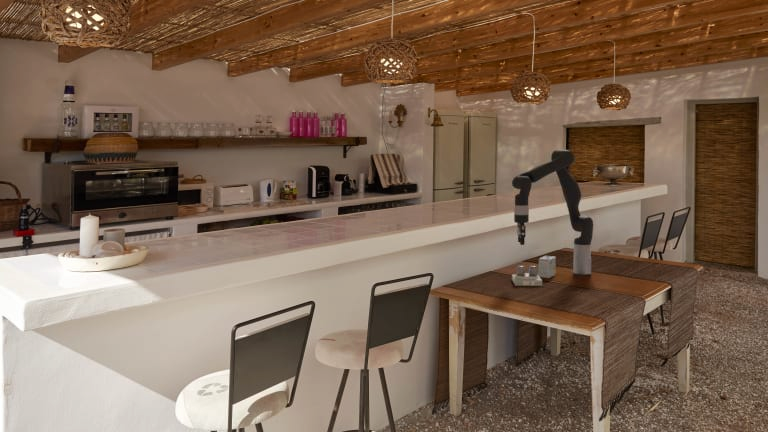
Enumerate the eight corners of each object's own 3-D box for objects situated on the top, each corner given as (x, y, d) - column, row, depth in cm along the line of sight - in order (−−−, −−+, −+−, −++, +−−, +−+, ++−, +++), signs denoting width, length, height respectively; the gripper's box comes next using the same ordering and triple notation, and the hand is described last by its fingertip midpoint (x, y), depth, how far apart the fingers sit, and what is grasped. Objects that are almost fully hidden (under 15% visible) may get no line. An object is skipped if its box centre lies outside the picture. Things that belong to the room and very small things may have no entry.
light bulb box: (544, 273, 342) (544, 255, 341) (555, 274, 339) (556, 256, 337) (538, 277, 334) (538, 258, 332) (549, 278, 330) (550, 259, 328)
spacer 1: (524, 274, 321) (524, 265, 321) (525, 276, 317) (525, 267, 316) (516, 274, 322) (516, 265, 321) (517, 276, 317) (517, 267, 317)
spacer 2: (536, 274, 321) (536, 265, 320) (537, 276, 316) (537, 267, 316) (528, 274, 321) (528, 265, 321) (529, 276, 317) (529, 267, 316)
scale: (537, 280, 326) (537, 272, 325) (542, 286, 311) (542, 278, 311) (511, 279, 327) (512, 272, 327) (515, 285, 313) (515, 278, 312)
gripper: (530, 215, 308) (530, 245, 310) (526, 211, 322) (526, 241, 324) (516, 215, 309) (515, 245, 311) (512, 212, 323) (512, 241, 325)
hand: (521, 243), depth 317 cm, fingers open, 8 cm apart
